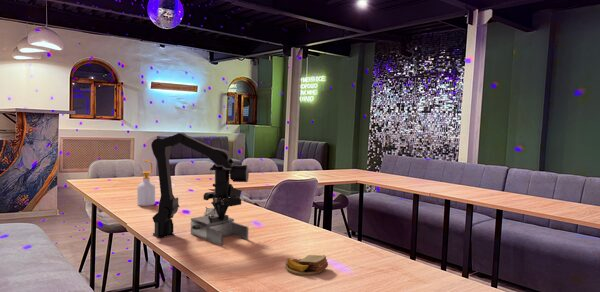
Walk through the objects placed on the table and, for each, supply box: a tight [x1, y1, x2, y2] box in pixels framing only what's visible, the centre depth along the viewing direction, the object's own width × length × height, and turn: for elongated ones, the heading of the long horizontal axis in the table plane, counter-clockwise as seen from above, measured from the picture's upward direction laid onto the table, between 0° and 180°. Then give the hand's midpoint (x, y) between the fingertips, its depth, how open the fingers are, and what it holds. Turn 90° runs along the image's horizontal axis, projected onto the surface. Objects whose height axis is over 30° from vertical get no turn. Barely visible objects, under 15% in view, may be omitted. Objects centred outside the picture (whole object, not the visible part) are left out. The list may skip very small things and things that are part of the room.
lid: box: [190, 214, 235, 226], centre depth 173 cm, size 13×12×3 cm
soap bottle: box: [136, 159, 156, 207], centre depth 228 cm, size 9×9×25 cm
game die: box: [203, 206, 217, 216], centre depth 189 cm, size 9×8×10 cm
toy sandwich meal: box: [285, 254, 329, 276], centre depth 135 cm, size 12×14×5 cm
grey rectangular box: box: [190, 220, 249, 247], centre depth 170 cm, size 17×22×5 cm
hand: (221, 219), depth 168 cm, fingers closed
